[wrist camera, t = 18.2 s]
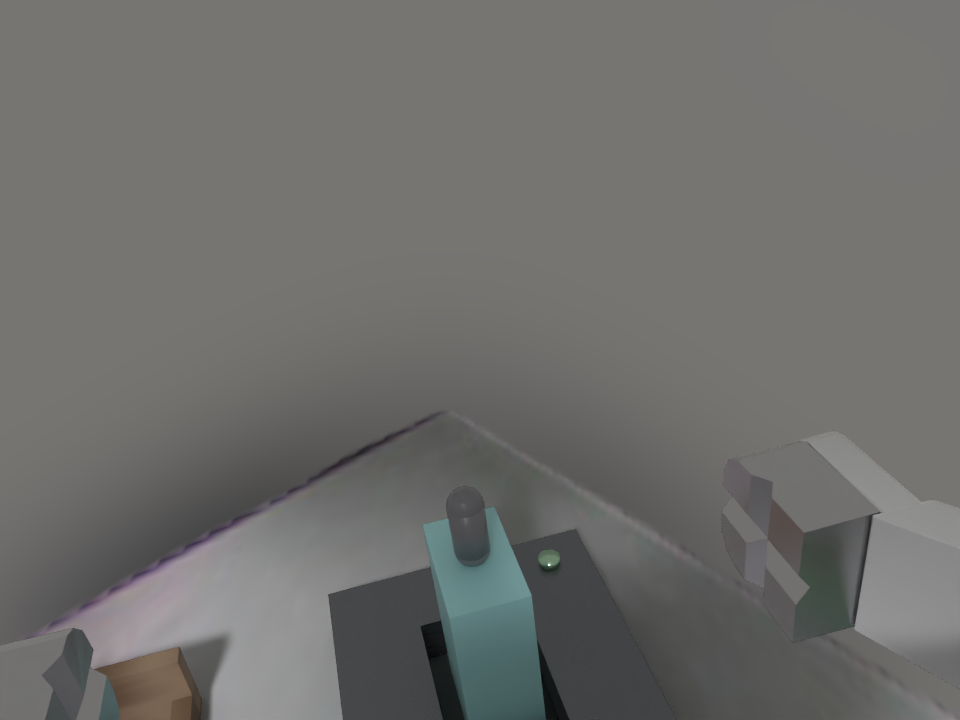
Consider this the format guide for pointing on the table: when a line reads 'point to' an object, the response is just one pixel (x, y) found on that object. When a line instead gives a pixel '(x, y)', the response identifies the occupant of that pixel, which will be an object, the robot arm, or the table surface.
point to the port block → (559, 630)
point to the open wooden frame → (154, 687)
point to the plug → (484, 612)
